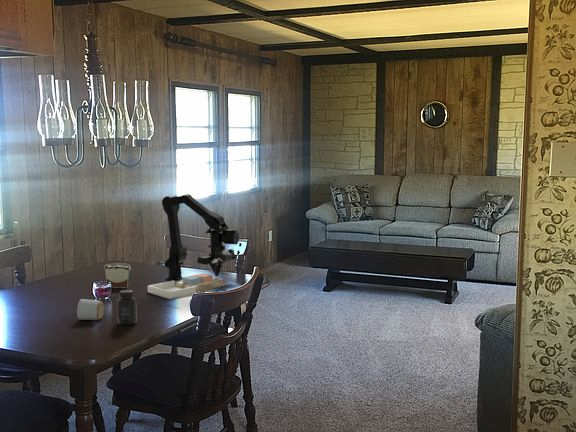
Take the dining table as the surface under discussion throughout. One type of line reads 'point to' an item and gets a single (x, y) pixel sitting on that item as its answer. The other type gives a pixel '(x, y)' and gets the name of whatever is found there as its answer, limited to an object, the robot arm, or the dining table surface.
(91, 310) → the white cylinder
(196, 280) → the slate tile
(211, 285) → the birch plate
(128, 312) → the supplement bottle
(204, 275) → the terracotta tile
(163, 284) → the box
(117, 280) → the food container
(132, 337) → the dining table surface
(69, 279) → the dining table surface
